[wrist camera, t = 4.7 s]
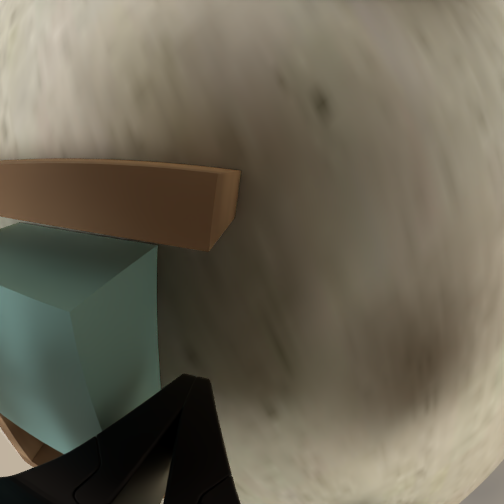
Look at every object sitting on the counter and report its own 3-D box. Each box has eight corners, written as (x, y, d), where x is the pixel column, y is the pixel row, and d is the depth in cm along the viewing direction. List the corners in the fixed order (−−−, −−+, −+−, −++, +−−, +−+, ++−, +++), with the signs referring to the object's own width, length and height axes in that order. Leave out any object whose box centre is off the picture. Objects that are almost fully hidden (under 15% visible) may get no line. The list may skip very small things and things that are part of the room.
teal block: (161, 398, 9) (124, 481, 6) (43, 354, 10) (-8, 406, 6) (157, 245, 8) (69, 312, 4) (19, 222, 8) (-63, 254, 4)
